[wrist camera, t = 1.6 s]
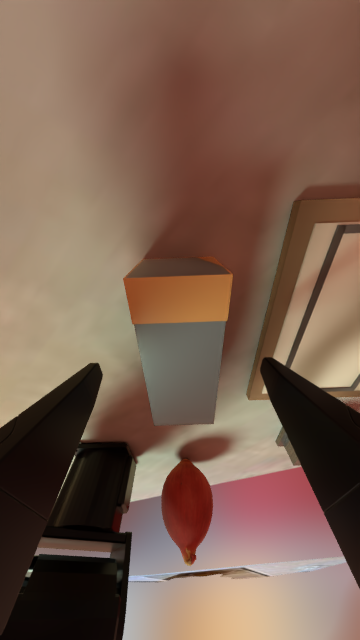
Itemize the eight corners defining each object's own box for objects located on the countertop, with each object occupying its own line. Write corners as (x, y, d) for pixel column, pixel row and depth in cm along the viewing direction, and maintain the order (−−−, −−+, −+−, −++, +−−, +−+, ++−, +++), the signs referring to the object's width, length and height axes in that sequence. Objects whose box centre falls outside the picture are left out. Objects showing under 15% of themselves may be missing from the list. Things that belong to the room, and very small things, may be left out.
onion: (204, 469, 24) (215, 570, 17) (163, 468, 24) (158, 571, 17) (209, 448, 21) (226, 560, 14) (163, 448, 21) (156, 561, 14)
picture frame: (246, 394, 16) (249, 402, 15) (293, 201, 8) (304, 199, 8) (362, 390, 16) (371, 398, 15) (511, 193, 8) (542, 190, 8)
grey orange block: (159, 377, 15) (153, 426, 11) (143, 259, 10) (123, 278, 6) (205, 376, 15) (214, 424, 11) (212, 256, 10) (232, 274, 6)
